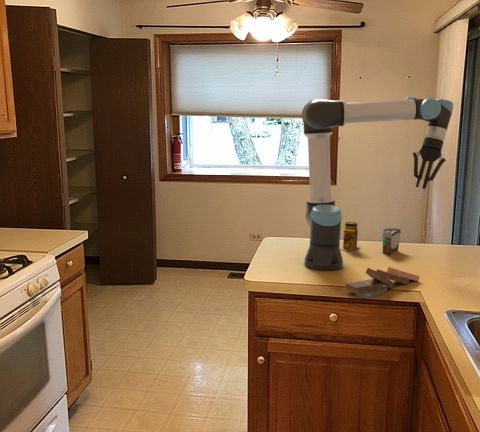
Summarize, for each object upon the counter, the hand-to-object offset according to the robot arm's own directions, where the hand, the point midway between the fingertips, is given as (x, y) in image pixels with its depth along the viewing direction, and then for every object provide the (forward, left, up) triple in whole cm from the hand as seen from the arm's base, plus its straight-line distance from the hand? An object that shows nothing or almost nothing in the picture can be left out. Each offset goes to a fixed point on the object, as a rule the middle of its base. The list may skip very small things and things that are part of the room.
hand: (418, 196), depth 214 cm
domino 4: (-4, -30, -26) cm, 40 cm away
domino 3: (-12, -40, -27) cm, 50 cm away
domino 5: (0, -25, -26) cm, 36 cm away
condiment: (-26, +12, -28) cm, 40 cm away
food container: (-10, +12, -28) cm, 32 cm away
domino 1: (-12, -41, -25) cm, 50 cm away
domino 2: (-9, -37, -26) cm, 46 cm away
